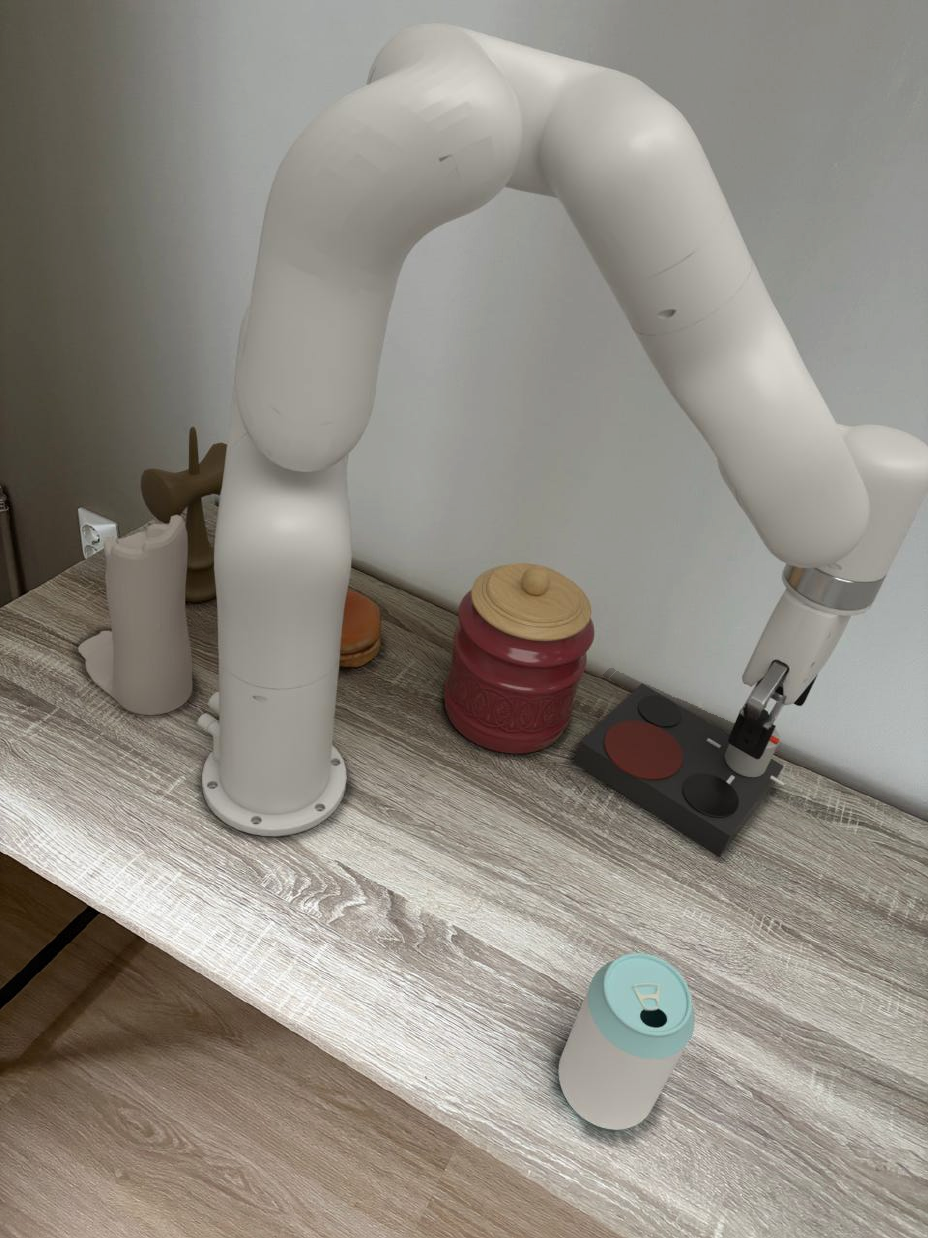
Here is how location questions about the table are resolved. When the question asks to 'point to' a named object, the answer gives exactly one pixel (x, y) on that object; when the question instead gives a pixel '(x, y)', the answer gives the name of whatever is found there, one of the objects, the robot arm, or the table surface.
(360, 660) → the burger
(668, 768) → the burners
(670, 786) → the stove
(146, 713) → the candle
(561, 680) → the kitchen canister
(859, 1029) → the table surface
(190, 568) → the kendama
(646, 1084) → the can
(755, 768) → the stove knob
